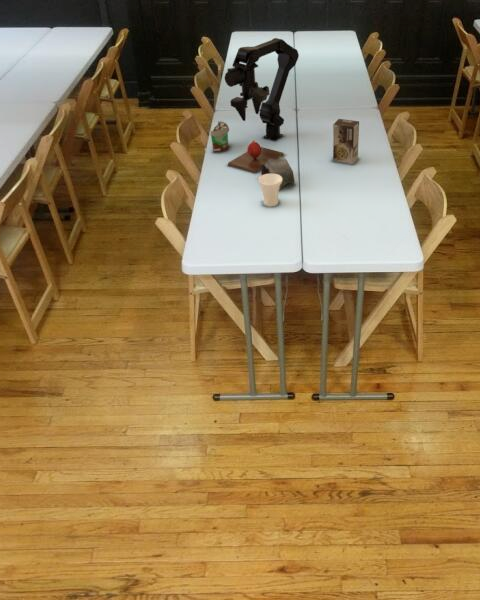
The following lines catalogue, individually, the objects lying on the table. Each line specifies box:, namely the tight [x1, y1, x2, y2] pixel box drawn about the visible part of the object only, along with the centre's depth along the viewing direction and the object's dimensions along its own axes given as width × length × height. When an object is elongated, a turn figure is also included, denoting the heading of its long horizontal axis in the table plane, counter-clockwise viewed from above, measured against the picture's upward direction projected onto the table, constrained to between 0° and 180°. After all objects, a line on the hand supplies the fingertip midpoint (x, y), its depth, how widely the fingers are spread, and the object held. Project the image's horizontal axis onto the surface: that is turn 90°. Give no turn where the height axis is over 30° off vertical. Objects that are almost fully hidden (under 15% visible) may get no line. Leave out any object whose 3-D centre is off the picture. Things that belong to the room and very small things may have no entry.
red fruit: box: [246, 140, 262, 159], centre depth 259 cm, size 6×6×8 cm
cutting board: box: [227, 146, 284, 174], centre depth 262 cm, size 20×14×1 cm
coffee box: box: [332, 118, 360, 165], centre depth 255 cm, size 9×6×16 cm
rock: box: [260, 155, 295, 190], centre depth 244 cm, size 18×11×8 cm, turn 16°
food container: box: [210, 120, 230, 154], centre depth 270 cm, size 12×6×10 cm, turn 168°
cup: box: [257, 174, 282, 207], centre depth 229 cm, size 9×9×10 cm
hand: (250, 117), depth 266 cm, fingers open, 9 cm apart
